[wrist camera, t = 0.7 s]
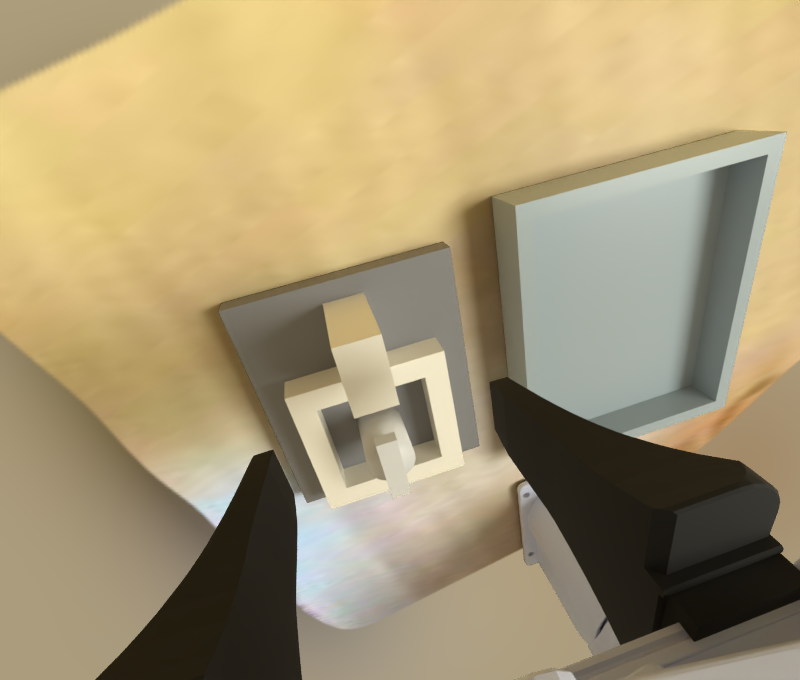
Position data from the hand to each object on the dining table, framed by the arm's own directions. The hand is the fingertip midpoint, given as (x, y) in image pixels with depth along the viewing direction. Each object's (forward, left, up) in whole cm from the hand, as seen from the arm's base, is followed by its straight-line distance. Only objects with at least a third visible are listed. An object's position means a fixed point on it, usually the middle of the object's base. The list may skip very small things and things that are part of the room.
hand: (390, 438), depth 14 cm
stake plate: (-4, 0, -9) cm, 10 cm away
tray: (-4, -15, -9) cm, 18 cm away
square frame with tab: (-4, 0, -8) cm, 9 cm away
